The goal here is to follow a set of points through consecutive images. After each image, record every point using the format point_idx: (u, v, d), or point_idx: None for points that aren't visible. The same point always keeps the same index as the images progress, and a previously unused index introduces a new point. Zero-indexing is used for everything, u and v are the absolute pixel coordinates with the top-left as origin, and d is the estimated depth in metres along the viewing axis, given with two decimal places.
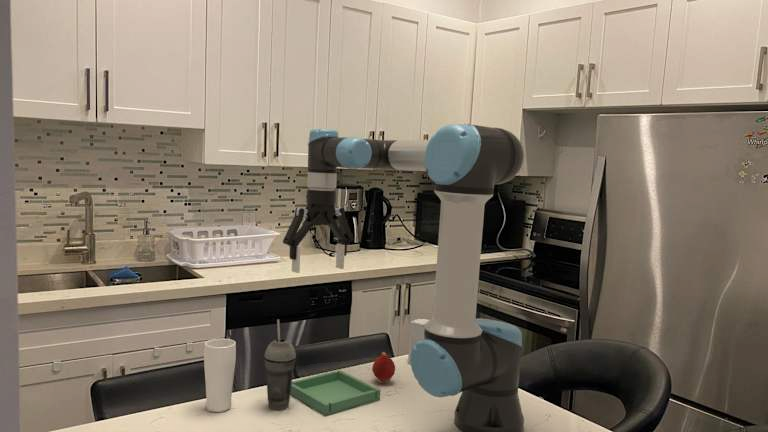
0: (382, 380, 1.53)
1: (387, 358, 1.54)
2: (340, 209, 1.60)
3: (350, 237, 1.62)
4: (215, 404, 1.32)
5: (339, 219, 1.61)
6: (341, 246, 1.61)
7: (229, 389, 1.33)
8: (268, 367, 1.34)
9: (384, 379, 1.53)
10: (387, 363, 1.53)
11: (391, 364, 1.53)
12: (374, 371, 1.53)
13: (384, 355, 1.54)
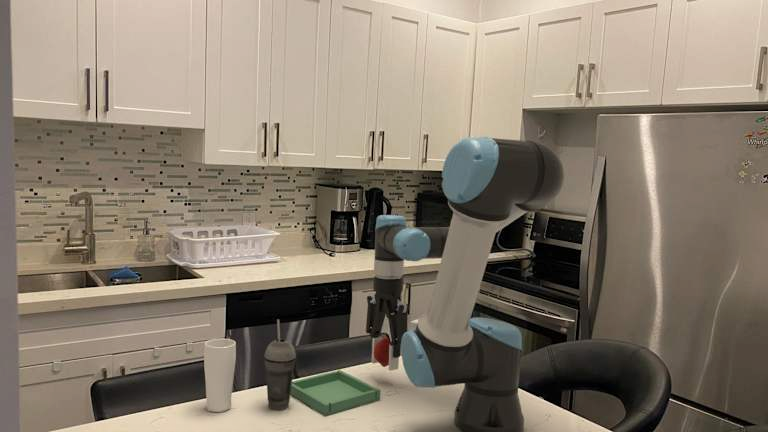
0: (384, 364, 1.52)
1: (389, 342, 1.53)
2: None
3: (398, 339, 1.48)
4: (215, 404, 1.32)
5: None
6: None
7: (229, 389, 1.33)
8: (268, 367, 1.34)
9: (386, 363, 1.52)
10: None
11: None
12: (376, 355, 1.52)
13: (386, 339, 1.53)
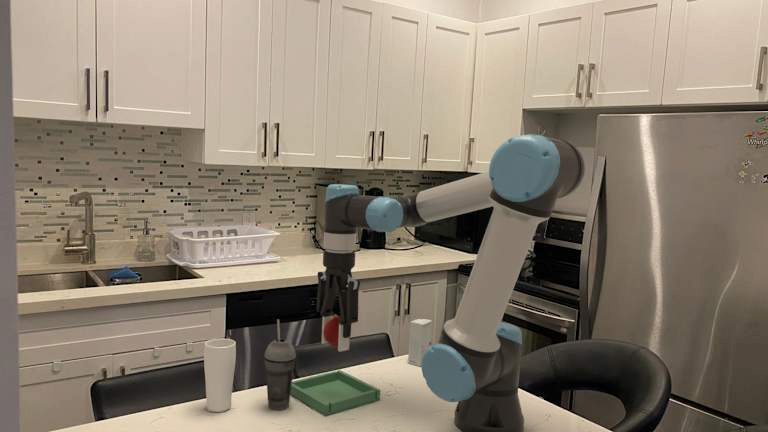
0: (333, 344, 1.42)
1: (339, 321, 1.42)
2: None
3: (347, 317, 1.37)
4: (215, 404, 1.32)
5: None
6: None
7: (229, 389, 1.33)
8: (268, 367, 1.34)
9: (335, 343, 1.41)
10: None
11: None
12: (325, 334, 1.41)
13: (336, 317, 1.42)
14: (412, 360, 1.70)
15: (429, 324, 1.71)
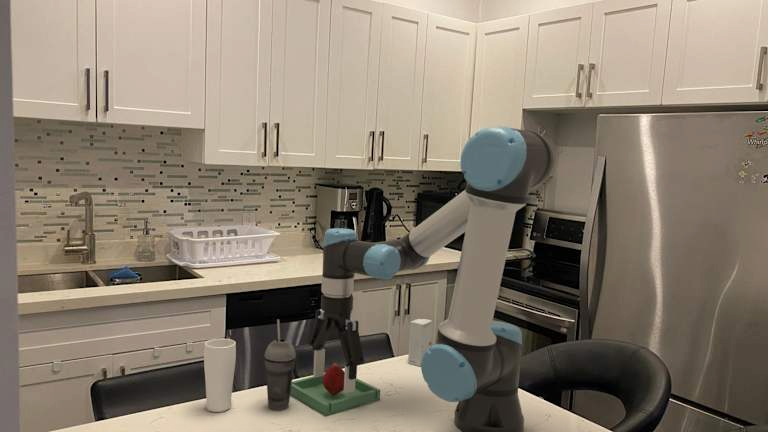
0: (332, 393, 1.42)
1: (338, 370, 1.42)
2: None
3: (353, 360, 1.36)
4: (215, 404, 1.32)
5: None
6: None
7: (229, 389, 1.33)
8: (268, 367, 1.34)
9: (334, 392, 1.42)
10: (338, 375, 1.41)
11: (342, 376, 1.42)
12: (324, 383, 1.42)
13: (335, 366, 1.43)
14: (412, 360, 1.70)
15: (429, 324, 1.71)
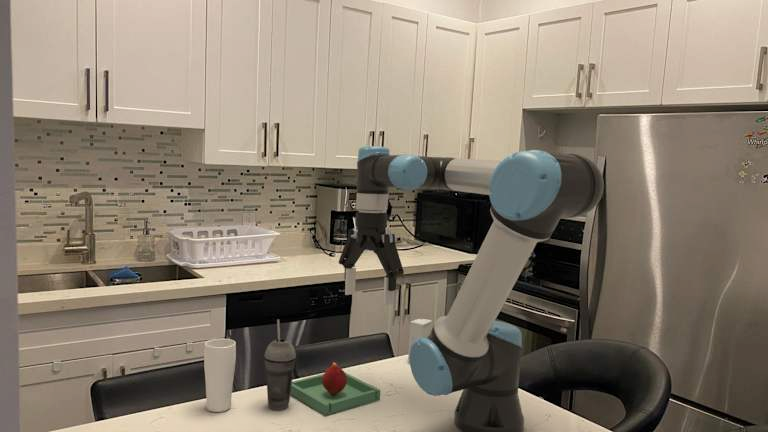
0: (332, 393, 1.42)
1: (338, 369, 1.43)
2: None
3: (393, 270, 1.38)
4: (215, 404, 1.32)
5: None
6: None
7: (229, 389, 1.33)
8: (268, 367, 1.34)
9: (334, 391, 1.42)
10: (337, 374, 1.42)
11: (342, 375, 1.42)
12: (324, 383, 1.42)
13: (335, 366, 1.43)
14: None
15: (429, 324, 1.71)
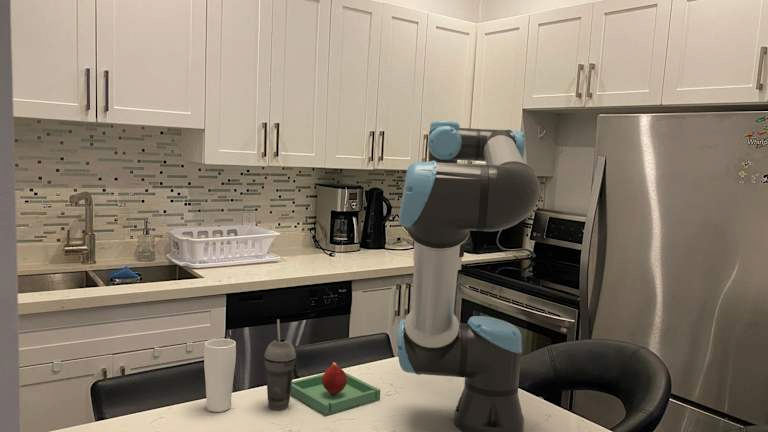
0: (332, 393, 1.42)
1: (338, 369, 1.43)
2: None
3: None
4: (215, 404, 1.32)
5: None
6: None
7: (229, 389, 1.33)
8: (268, 367, 1.34)
9: (334, 391, 1.42)
10: (337, 374, 1.42)
11: (342, 375, 1.42)
12: (324, 383, 1.42)
13: (335, 366, 1.43)
14: None
15: None
